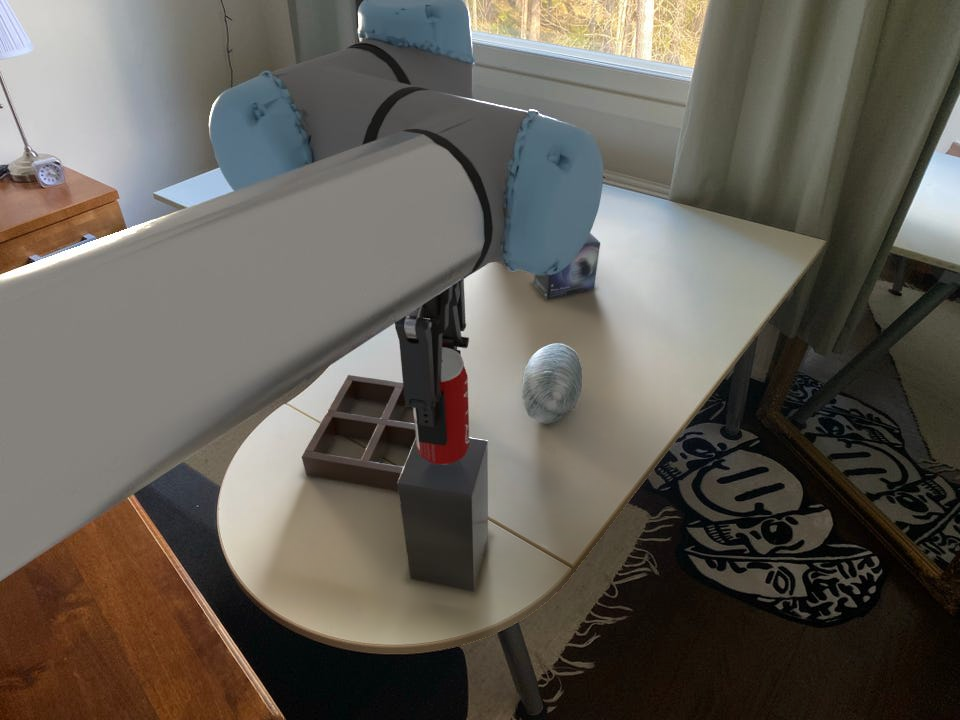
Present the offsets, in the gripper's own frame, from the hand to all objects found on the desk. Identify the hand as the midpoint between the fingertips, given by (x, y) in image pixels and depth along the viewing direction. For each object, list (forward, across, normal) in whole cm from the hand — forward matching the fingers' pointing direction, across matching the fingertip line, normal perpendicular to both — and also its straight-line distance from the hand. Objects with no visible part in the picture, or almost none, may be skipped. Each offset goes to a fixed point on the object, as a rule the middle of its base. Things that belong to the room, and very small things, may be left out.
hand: (441, 418), depth 68 cm
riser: (+24, 0, 0) cm, 24 cm away
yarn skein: (+25, +31, -8) cm, 40 cm away
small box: (+25, +64, -6) cm, 69 cm away
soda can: (+5, 0, 0) cm, 5 cm away
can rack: (+24, +17, +14) cm, 33 cm away
